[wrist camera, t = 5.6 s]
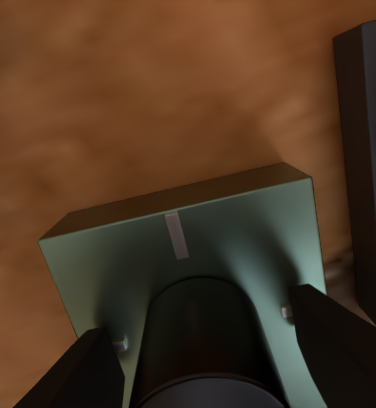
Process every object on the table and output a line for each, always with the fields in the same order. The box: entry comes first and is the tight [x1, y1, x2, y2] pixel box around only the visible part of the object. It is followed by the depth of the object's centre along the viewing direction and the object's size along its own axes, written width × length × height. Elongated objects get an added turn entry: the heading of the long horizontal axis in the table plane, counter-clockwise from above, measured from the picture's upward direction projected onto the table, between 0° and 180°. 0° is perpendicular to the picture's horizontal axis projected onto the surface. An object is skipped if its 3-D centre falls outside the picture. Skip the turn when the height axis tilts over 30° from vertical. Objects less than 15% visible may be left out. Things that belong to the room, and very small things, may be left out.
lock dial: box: [128, 278, 291, 408], centre depth 8 cm, size 4×4×4 cm
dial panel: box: [38, 162, 327, 408], centre depth 11 cm, size 10×8×3 cm
